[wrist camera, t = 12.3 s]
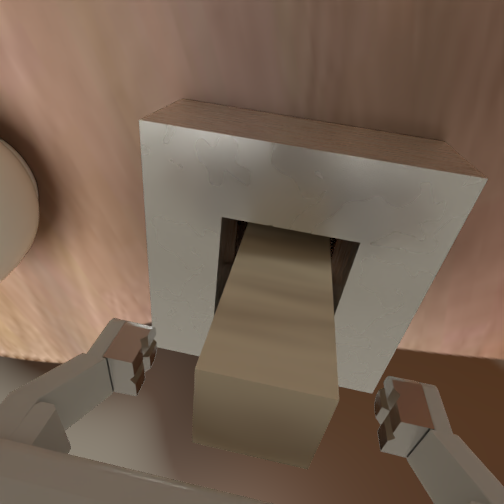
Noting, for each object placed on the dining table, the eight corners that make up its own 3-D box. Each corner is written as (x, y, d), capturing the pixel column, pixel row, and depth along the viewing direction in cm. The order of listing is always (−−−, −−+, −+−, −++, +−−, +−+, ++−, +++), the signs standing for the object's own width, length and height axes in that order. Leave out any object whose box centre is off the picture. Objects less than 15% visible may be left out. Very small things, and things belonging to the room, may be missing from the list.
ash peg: (258, 195, 19) (194, 368, 9) (327, 208, 19) (338, 400, 9) (249, 253, 22) (192, 442, 12) (312, 265, 21) (307, 469, 11)
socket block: (182, 98, 17) (138, 119, 13) (444, 141, 16) (488, 178, 12) (181, 292, 24) (153, 346, 20) (362, 329, 23) (372, 393, 19)
